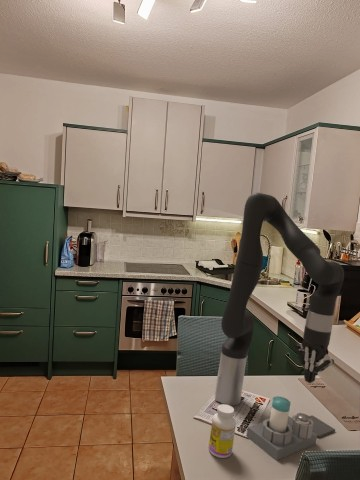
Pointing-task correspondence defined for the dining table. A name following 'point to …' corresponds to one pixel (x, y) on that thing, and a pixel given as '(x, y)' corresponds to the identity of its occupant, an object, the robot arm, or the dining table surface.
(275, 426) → the cartridge
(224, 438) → the supplement bottle
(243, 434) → the dining table surface
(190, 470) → the dining table surface
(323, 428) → the mat
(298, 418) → the plunger
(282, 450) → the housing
